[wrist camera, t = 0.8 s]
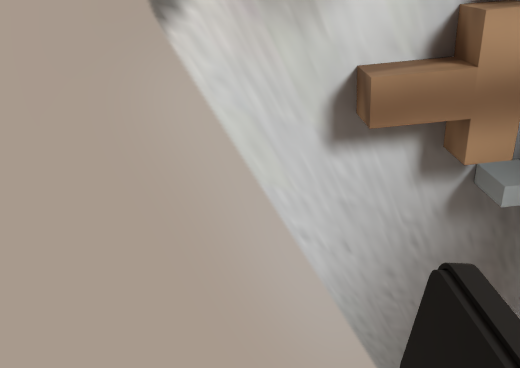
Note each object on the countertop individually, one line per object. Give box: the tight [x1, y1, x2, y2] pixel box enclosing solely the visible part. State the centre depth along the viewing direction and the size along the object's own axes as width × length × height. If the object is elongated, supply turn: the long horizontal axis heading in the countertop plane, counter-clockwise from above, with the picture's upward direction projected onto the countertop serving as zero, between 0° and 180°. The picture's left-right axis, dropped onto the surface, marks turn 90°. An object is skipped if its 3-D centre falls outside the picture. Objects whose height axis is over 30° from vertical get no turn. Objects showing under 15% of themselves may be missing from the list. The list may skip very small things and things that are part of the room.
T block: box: [356, 0, 520, 165], centre depth 27 cm, size 9×9×3 cm
